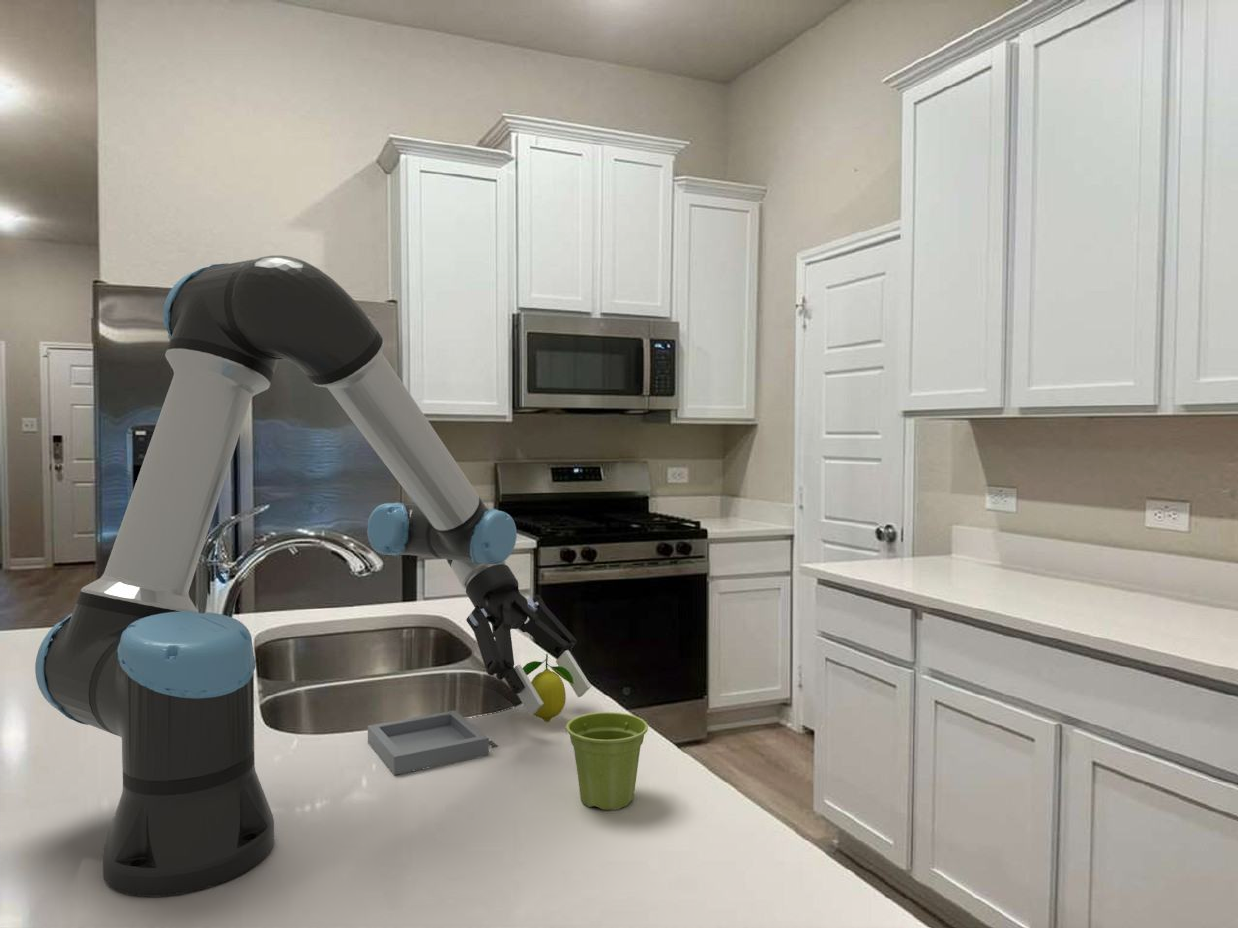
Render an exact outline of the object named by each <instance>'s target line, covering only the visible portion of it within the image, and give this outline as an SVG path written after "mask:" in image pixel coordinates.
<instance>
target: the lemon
mask: <svg viewBox="0 0 1238 928" xmlns="http://www.w3.org/2000/svg"><path fill="white" fill-rule="evenodd" d="M548 655H549V654H548V653H546V654H545V659H544V660H543V661H537V660H534V661H530V662H528V663H526V664H525V665H524V666H523V667H522V668H523V670H524V672H525V673H526V675H527V676H529V674H530V673H532V672H534V671H535V670H537V669H538V668H539V667H540V666H541V665H542V664H544V663H545V669H544V670H543V671H540V672H538V673H536V674H535V676H534V677H533V678H532V680H530V682H531V683H532V685H533V687H534V688H535V690H536V692H537V693H538V695H539V697H540V698H541V700H542V702H543V703H544V704H543V705H542V706H541V707H540V708H539V709H538V710H537V712H536V713H535V714H534V715H533V716H535V717H537V718H539V719H542V720H543V721H544V722H545V723H550V722H551V720H552V719H553V718H556V717H557V716H559V715H560V714H561V712H562V711H563V709H564V707H565V705H566V699H567V698H566V695H567V694H566V693H567V692H566V687H565V684H564V682H563V679H564V680H565V681H566V682H567V683H569V682H570V683H572V684H574V683H573V678H572V676H571V674H570V673H569V671H568V670H566V669H565V668H563V667H560V666H558V665H556V666H551V665H549V664H548V660H549V659H548V658H549V657H548ZM548 667H550V669H551V670H552V671H551V670H550V669H548Z"/></svg>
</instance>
